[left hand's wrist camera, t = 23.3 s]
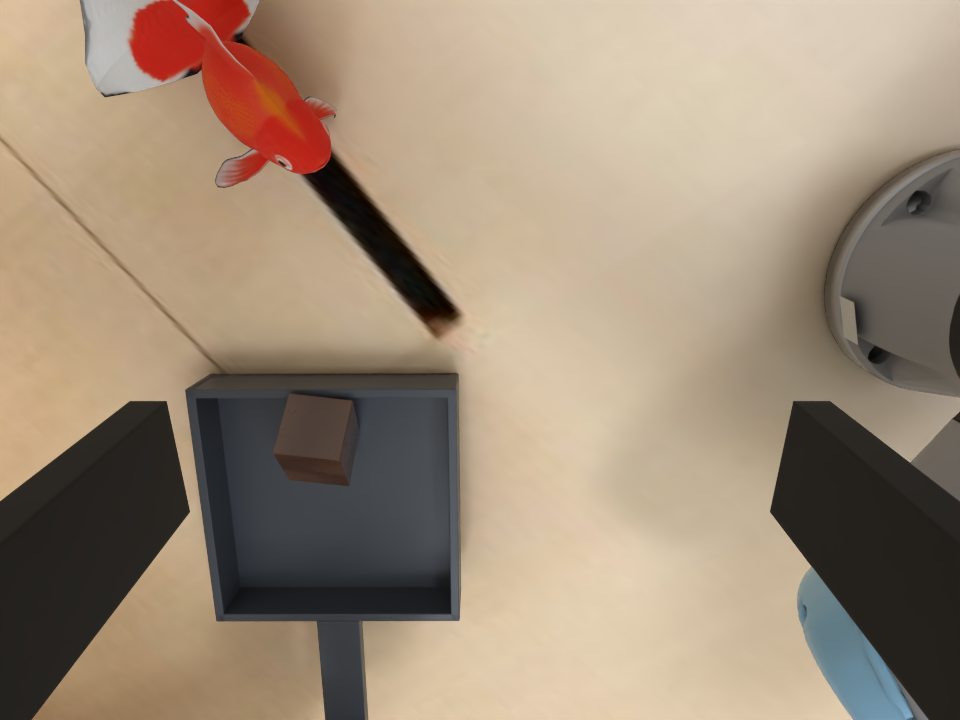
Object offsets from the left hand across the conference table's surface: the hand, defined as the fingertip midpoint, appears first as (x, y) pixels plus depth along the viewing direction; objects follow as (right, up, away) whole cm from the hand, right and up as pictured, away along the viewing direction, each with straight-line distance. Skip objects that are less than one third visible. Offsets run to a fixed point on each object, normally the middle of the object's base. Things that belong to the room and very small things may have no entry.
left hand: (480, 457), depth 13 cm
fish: (-14, +19, +21) cm, 32 cm away
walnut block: (-10, -4, +28) cm, 30 cm away
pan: (-10, -13, +32) cm, 36 cm away
